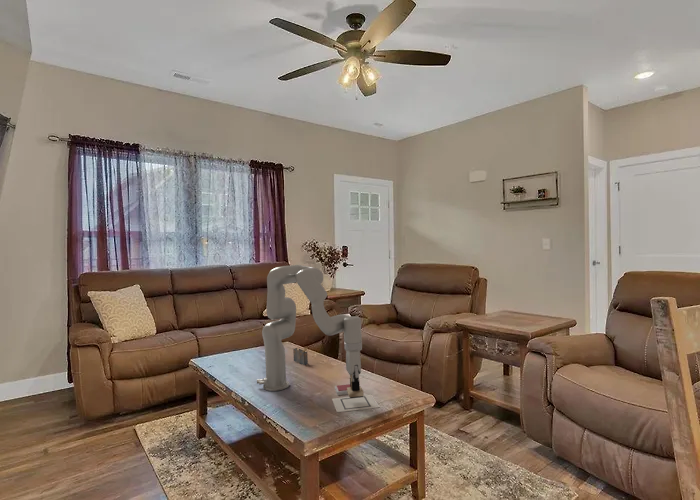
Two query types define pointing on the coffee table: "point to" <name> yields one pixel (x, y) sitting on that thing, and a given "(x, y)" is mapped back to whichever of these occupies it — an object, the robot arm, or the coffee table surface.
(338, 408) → the marked card
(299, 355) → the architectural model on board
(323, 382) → the coffee table surface
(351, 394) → the stamp
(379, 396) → the coffee table surface
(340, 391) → the ink pad
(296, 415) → the coffee table surface
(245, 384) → the coffee table surface
